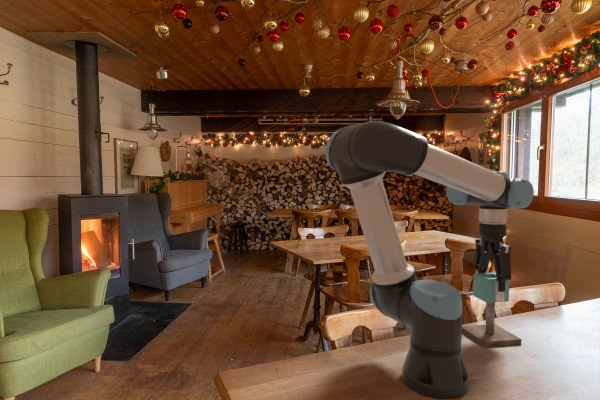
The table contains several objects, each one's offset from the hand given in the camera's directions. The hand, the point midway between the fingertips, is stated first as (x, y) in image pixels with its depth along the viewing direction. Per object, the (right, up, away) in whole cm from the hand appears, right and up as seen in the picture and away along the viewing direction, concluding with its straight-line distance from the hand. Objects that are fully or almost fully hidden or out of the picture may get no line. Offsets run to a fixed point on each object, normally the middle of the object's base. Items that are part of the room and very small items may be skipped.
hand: (491, 297), depth 119 cm
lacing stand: (0, -12, +1) cm, 12 cm away
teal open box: (0, 0, 0) cm, 0 cm away
